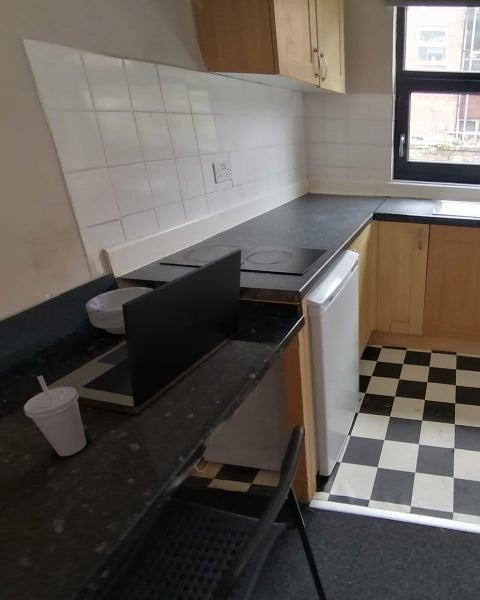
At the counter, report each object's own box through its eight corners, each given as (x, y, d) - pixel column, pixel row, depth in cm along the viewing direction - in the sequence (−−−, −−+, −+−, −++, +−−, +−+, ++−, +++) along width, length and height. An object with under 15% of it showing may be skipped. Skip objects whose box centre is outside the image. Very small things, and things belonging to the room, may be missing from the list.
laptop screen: (121, 304, 62) (126, 306, 62) (237, 248, 88) (241, 249, 88) (133, 406, 71) (137, 408, 71) (235, 328, 98) (238, 329, 98)
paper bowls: (176, 321, 105) (168, 293, 102) (112, 346, 94) (101, 316, 90) (146, 308, 113) (139, 281, 110) (84, 329, 101) (73, 300, 98)
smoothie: (47, 469, 61) (9, 394, 55) (46, 445, 65) (11, 373, 59) (98, 449, 64) (68, 376, 59) (94, 427, 69) (66, 358, 63)
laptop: (45, 397, 77) (41, 389, 76) (164, 325, 103) (162, 319, 102) (136, 414, 72) (133, 405, 71) (236, 334, 98) (235, 327, 98)
